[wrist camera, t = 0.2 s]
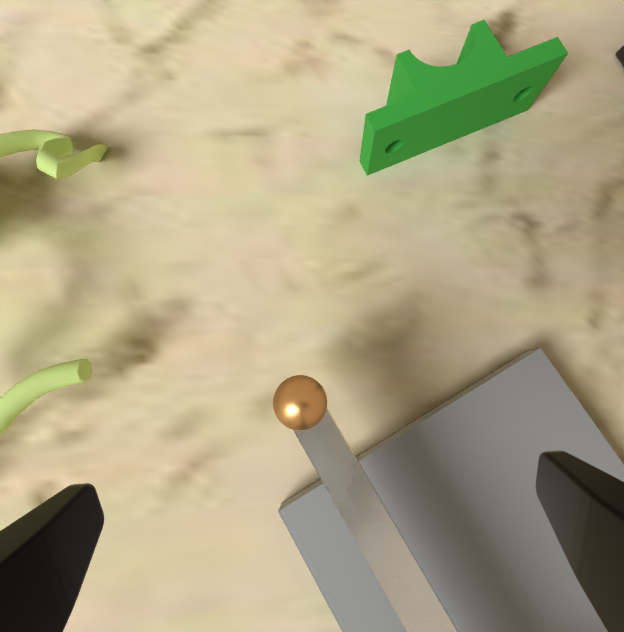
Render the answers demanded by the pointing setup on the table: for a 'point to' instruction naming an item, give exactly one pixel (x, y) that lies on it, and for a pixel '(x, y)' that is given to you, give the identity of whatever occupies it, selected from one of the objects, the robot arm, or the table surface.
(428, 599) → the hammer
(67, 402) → the table surface
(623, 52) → the phone stand
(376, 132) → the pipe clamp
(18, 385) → the figurine
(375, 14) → the table surface
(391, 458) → the base board
